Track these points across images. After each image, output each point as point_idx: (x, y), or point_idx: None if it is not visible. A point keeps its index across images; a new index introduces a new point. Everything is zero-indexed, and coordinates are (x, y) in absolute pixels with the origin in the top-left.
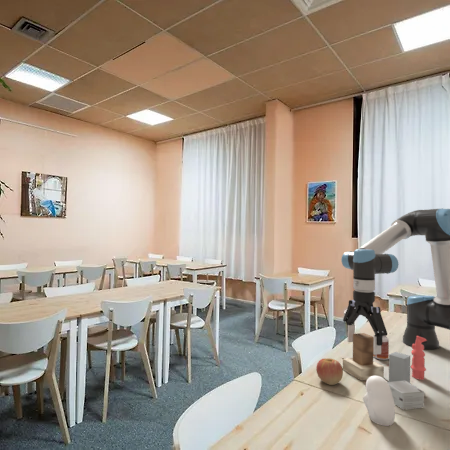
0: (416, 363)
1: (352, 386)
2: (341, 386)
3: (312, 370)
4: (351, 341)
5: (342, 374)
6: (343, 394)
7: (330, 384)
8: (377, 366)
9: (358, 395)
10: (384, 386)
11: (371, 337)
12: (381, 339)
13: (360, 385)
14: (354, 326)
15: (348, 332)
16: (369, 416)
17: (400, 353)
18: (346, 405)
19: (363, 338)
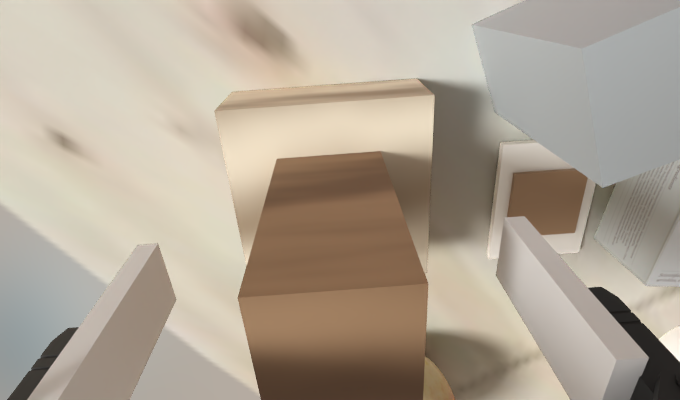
0: None
1: (450, 304)
2: (433, 342)
3: (251, 373)
4: (166, 279)
5: (445, 381)
6: (493, 366)
7: None
8: (424, 148)
9: None
10: None
11: (426, 308)
12: (655, 351)
13: (455, 268)
14: (69, 384)
15: (131, 381)
16: None
17: (649, 35)
18: (560, 392)
19: (422, 394)
